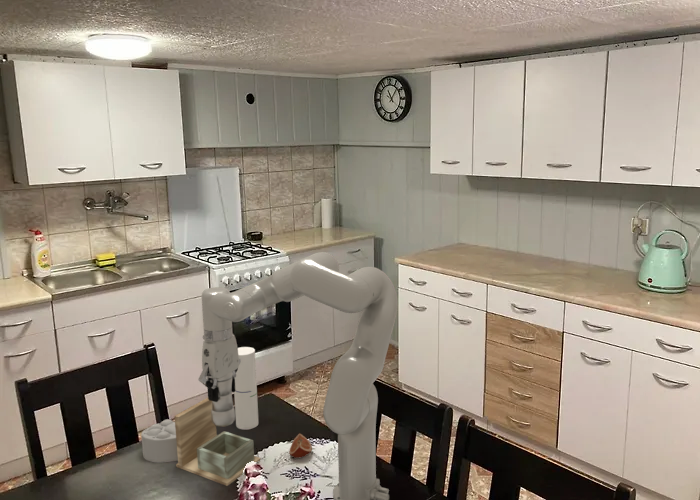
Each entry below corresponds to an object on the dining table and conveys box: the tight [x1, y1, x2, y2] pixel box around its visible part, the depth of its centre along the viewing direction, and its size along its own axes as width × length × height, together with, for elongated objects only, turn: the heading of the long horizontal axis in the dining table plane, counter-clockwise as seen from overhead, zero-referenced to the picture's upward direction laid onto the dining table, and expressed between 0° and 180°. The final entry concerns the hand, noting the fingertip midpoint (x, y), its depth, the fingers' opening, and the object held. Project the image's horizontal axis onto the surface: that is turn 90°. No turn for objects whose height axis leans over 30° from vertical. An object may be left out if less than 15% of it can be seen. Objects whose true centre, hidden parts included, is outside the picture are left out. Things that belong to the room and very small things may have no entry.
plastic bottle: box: [210, 372, 236, 428], centre depth 157 cm, size 6×7×20 cm
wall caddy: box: [173, 397, 261, 487], centre depth 162 cm, size 19×14×16 cm
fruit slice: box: [288, 432, 313, 459], centre depth 167 cm, size 8×7×5 cm
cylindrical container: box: [233, 346, 259, 430], centre depth 183 cm, size 7×7×25 cm
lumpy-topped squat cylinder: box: [140, 418, 178, 463], centre depth 169 cm, size 10×13×9 cm
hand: (222, 395), depth 158 cm, fingers closed on plastic bottle, 6 cm apart
